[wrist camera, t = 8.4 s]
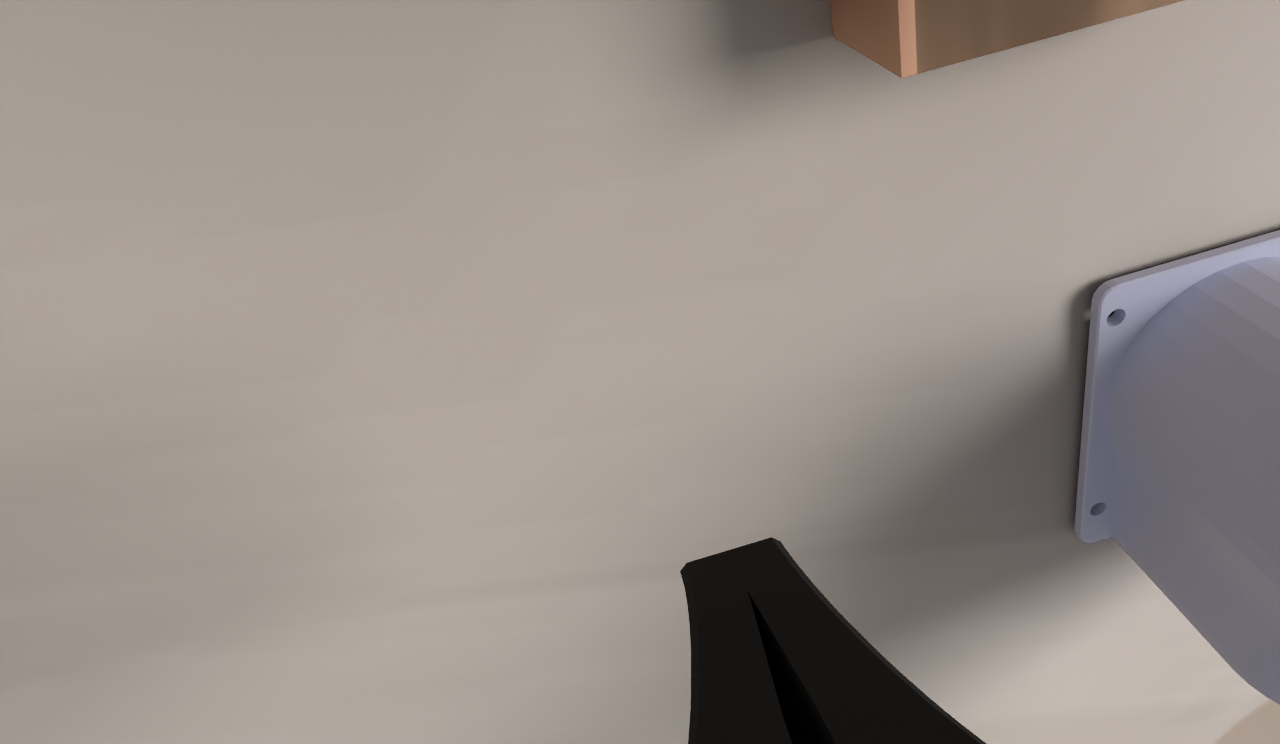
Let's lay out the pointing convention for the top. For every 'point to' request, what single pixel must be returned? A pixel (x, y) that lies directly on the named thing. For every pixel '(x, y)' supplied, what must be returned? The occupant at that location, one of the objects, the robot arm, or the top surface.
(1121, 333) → the robot arm
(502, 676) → the top surface
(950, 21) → the walnut block
